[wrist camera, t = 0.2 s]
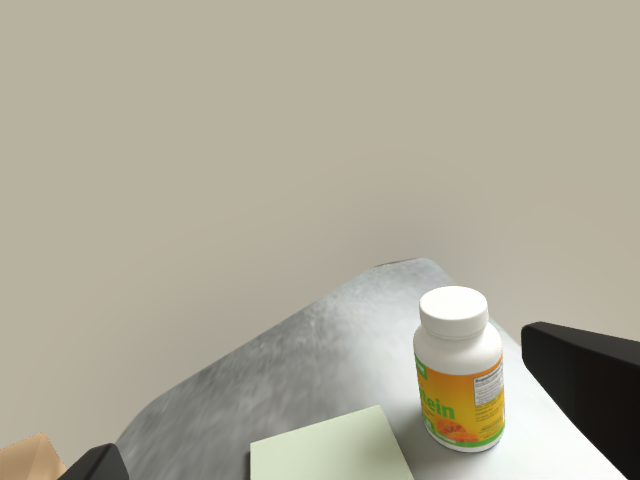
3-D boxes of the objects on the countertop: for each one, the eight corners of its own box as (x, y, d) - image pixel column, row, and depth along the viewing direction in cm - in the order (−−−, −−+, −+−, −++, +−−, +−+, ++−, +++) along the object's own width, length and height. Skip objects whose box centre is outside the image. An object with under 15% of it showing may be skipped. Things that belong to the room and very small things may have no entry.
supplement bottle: (407, 416, 28) (389, 302, 24) (460, 382, 30) (450, 273, 26) (465, 471, 23) (453, 339, 20) (523, 426, 25) (521, 300, 22)
